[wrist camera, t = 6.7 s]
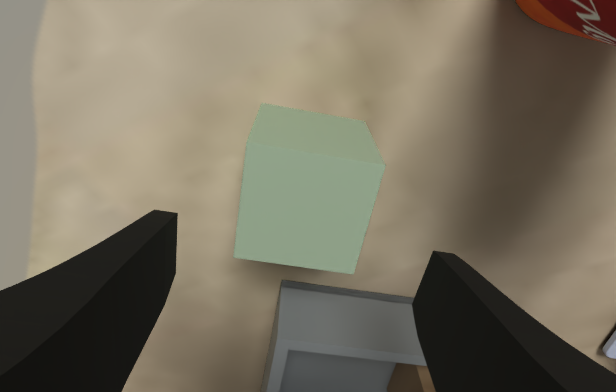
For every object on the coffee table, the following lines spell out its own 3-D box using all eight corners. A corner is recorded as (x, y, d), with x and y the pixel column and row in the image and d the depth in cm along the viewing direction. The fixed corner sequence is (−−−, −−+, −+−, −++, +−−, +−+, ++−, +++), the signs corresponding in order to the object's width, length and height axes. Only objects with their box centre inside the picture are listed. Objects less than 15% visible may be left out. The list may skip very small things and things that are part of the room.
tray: (517, 312, 22) (558, 373, 18) (455, 420, 27) (479, 485, 23) (281, 279, 21) (277, 338, 17) (259, 399, 25) (251, 464, 22)
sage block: (364, 120, 17) (385, 165, 13) (341, 209, 19) (353, 274, 15) (262, 102, 17) (246, 141, 12) (250, 194, 19) (233, 257, 14)
